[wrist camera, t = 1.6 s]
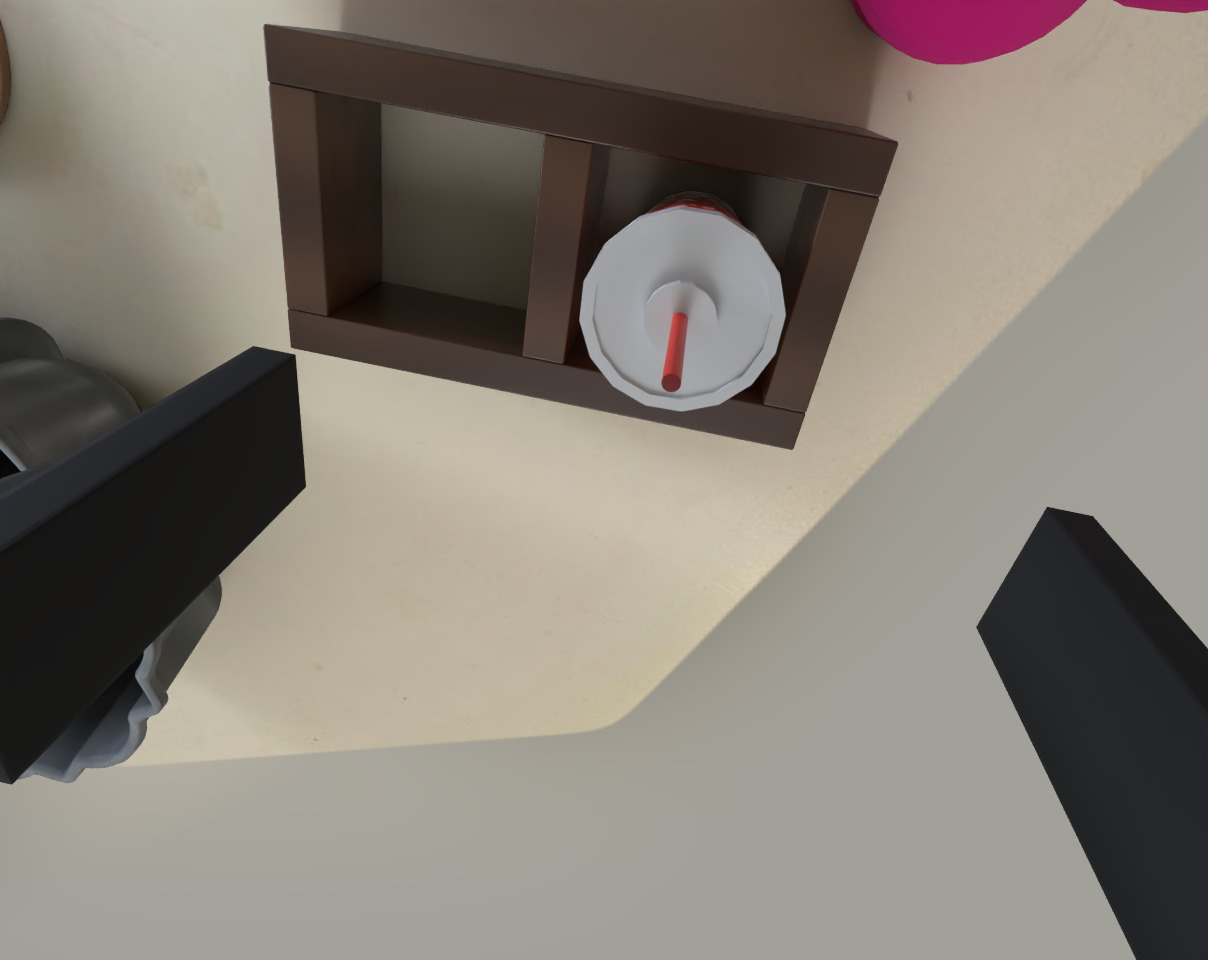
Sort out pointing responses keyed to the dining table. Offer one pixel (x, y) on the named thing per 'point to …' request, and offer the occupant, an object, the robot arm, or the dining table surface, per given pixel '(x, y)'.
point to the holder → (542, 220)
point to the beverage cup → (683, 305)
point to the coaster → (4, 76)
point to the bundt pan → (48, 434)
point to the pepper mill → (978, 24)
